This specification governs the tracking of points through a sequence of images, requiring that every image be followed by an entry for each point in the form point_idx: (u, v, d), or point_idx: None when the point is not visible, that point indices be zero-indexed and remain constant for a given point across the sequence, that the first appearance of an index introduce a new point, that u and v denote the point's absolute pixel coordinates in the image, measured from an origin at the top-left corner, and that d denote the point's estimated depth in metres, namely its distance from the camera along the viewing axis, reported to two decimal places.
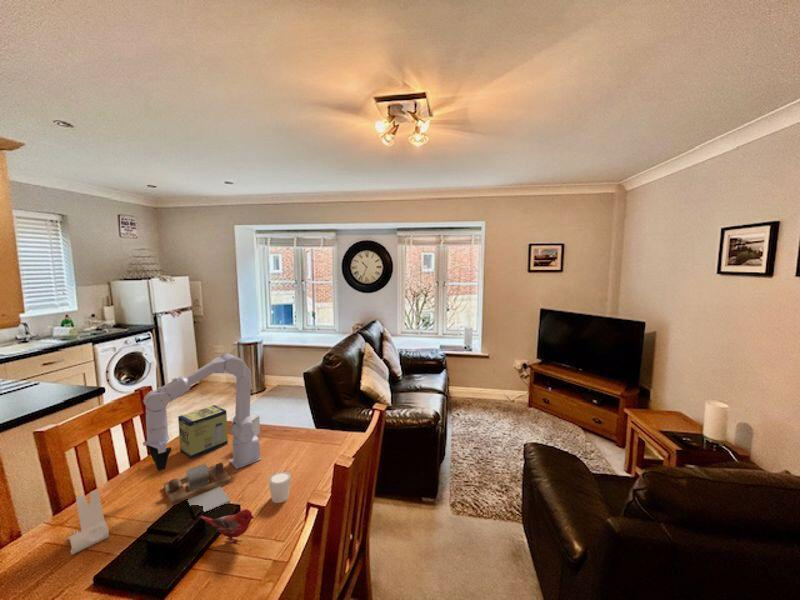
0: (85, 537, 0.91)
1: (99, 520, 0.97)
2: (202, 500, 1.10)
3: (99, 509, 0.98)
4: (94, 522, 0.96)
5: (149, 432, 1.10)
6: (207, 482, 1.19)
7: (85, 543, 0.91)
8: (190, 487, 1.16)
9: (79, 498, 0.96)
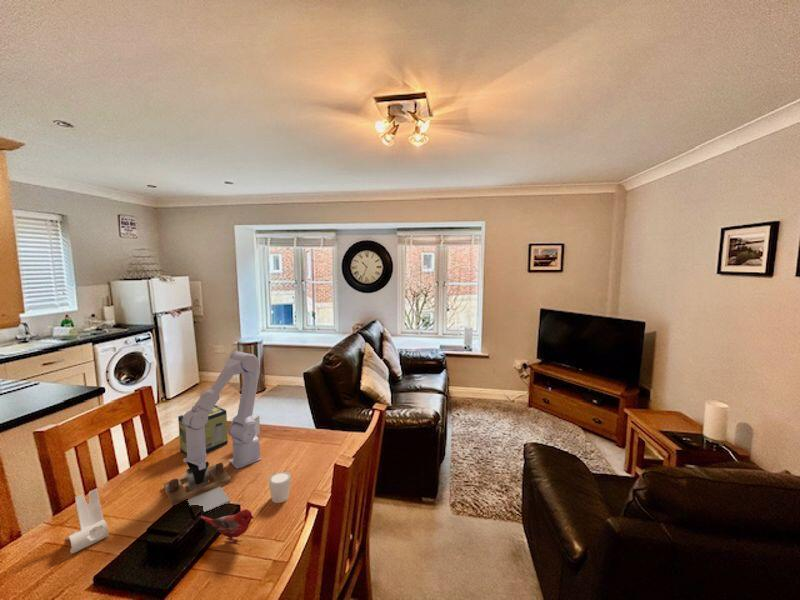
0: (85, 536, 0.91)
1: (98, 519, 0.97)
2: (202, 500, 1.10)
3: (98, 508, 0.98)
4: (93, 521, 0.96)
5: (189, 449, 1.15)
6: (207, 482, 1.19)
7: (85, 542, 0.91)
8: (190, 487, 1.16)
9: (78, 498, 0.96)
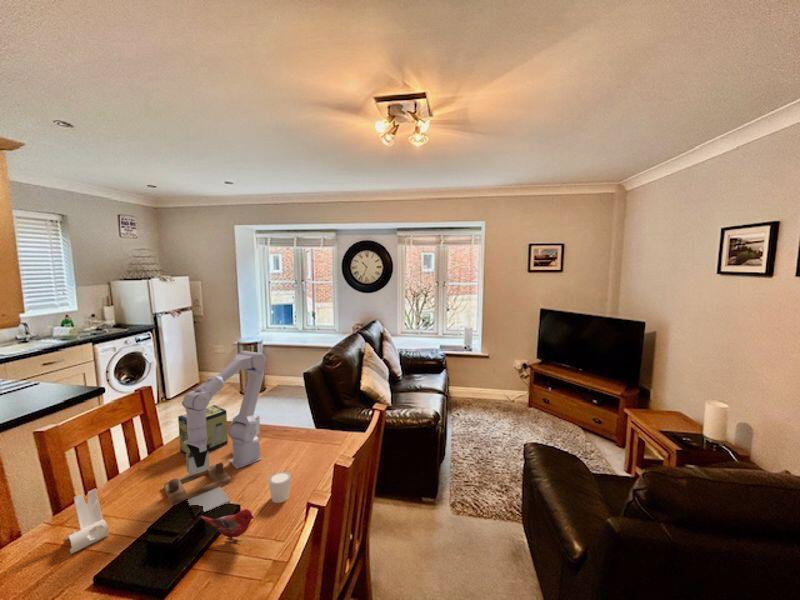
0: (85, 536, 0.91)
1: (98, 519, 0.97)
2: (202, 500, 1.10)
3: (97, 508, 0.98)
4: (93, 521, 0.96)
5: (190, 431, 1.13)
6: (207, 467, 1.17)
7: (85, 542, 0.91)
8: (190, 471, 1.13)
9: (77, 498, 0.96)
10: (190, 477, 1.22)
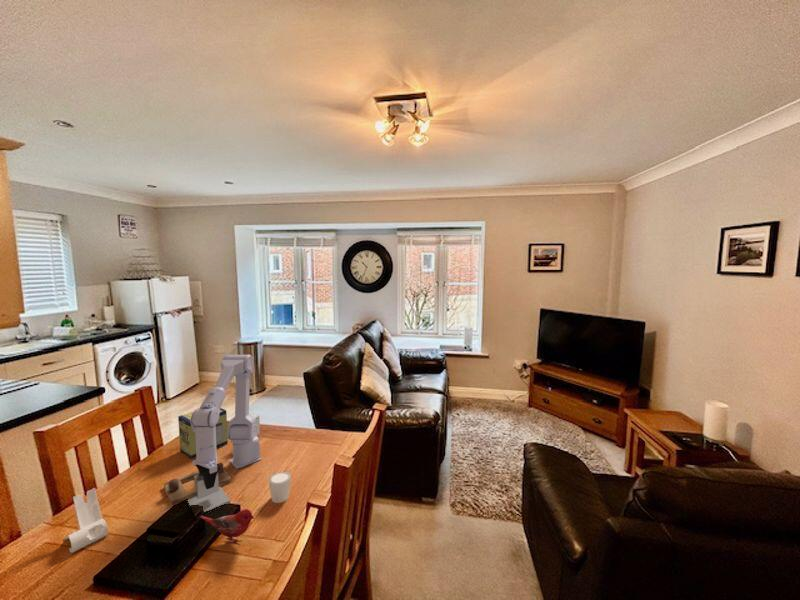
0: (85, 535, 0.92)
1: (97, 519, 0.97)
2: (202, 500, 1.10)
3: (97, 508, 0.98)
4: (92, 521, 0.96)
5: (199, 451, 1.06)
6: (217, 489, 1.10)
7: (85, 541, 0.91)
8: (198, 495, 1.06)
9: (76, 497, 0.96)
10: (190, 477, 1.22)
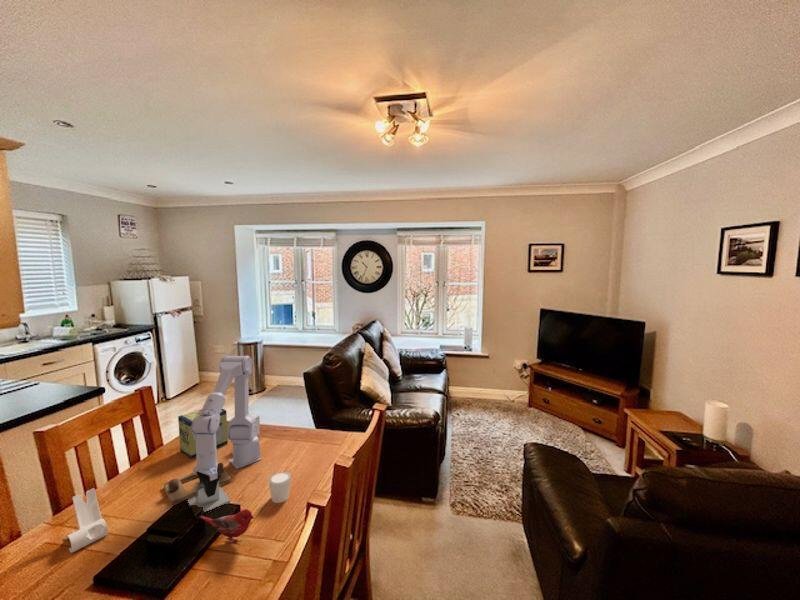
0: (84, 535, 0.92)
1: (97, 518, 0.97)
2: None
3: (96, 508, 0.98)
4: (92, 521, 0.96)
5: (199, 458, 1.06)
6: (217, 497, 1.10)
7: (85, 541, 0.91)
8: (199, 503, 1.06)
9: (75, 497, 0.96)
10: (190, 477, 1.22)
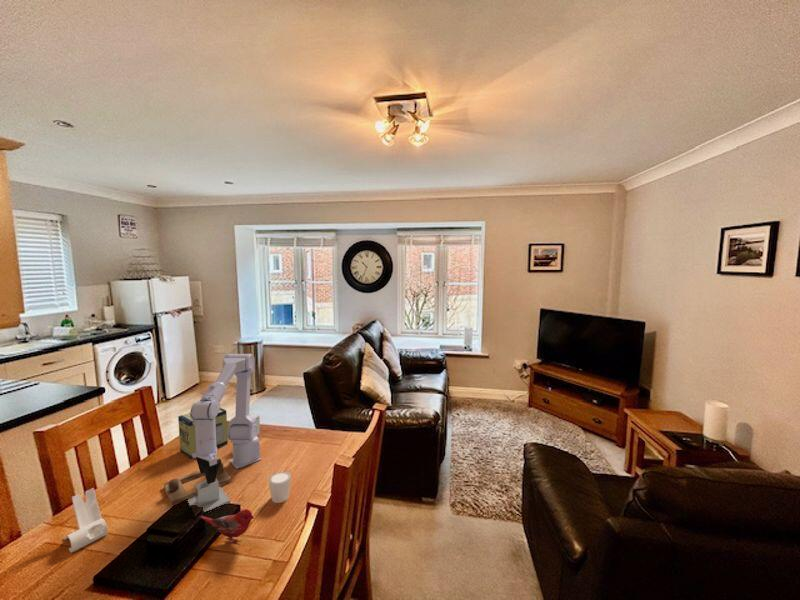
0: (84, 535, 0.92)
1: (96, 518, 0.97)
2: None
3: (96, 508, 0.98)
4: (91, 520, 0.96)
5: (199, 443, 1.05)
6: (217, 497, 1.10)
7: (85, 541, 0.92)
8: (199, 503, 1.06)
9: (75, 497, 0.96)
10: (190, 477, 1.22)
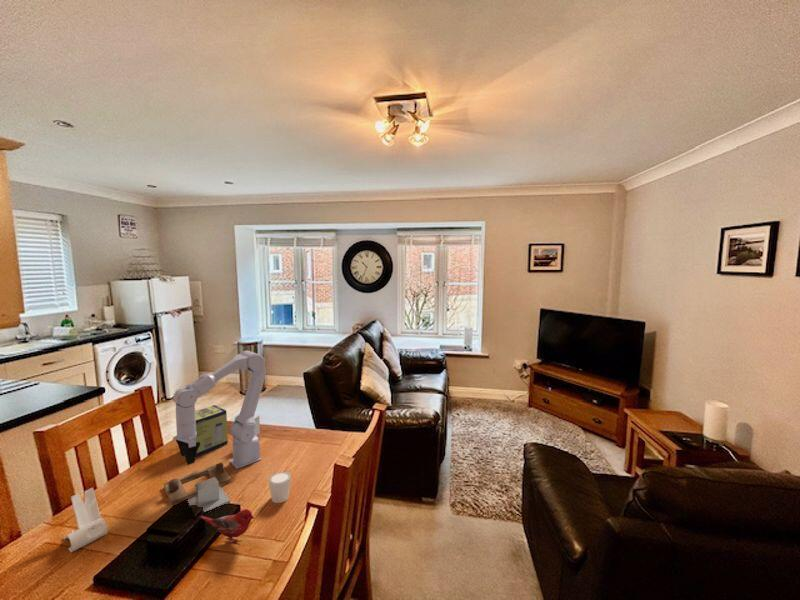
0: (84, 534, 0.92)
1: (96, 518, 0.97)
2: None
3: (95, 507, 0.98)
4: (91, 520, 0.96)
5: (179, 427, 1.15)
6: (217, 497, 1.10)
7: (84, 540, 0.92)
8: (199, 503, 1.06)
9: (74, 497, 0.96)
10: (190, 477, 1.22)
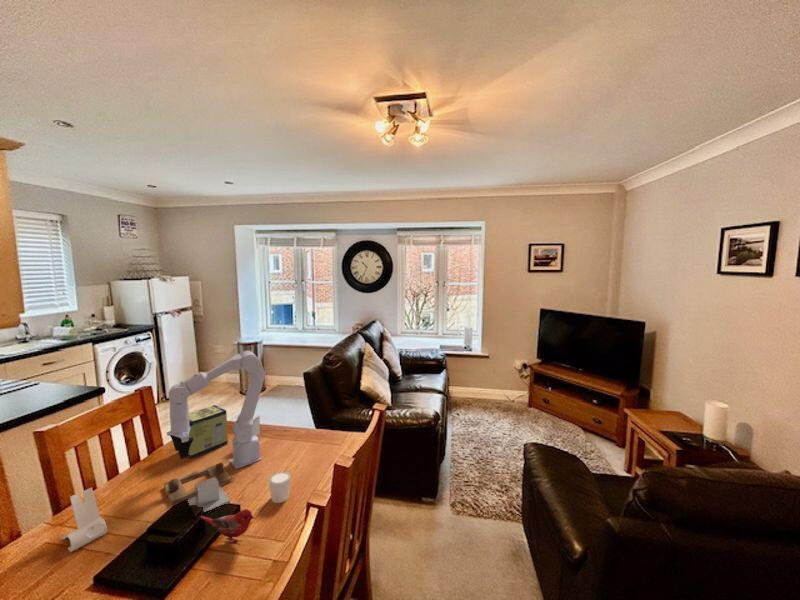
0: (84, 534, 0.92)
1: (95, 518, 0.97)
2: None
3: (94, 507, 0.98)
4: (90, 520, 0.97)
5: (173, 423, 1.18)
6: (217, 497, 1.10)
7: (84, 540, 0.92)
8: (199, 503, 1.06)
9: (73, 497, 0.96)
10: (190, 477, 1.22)
